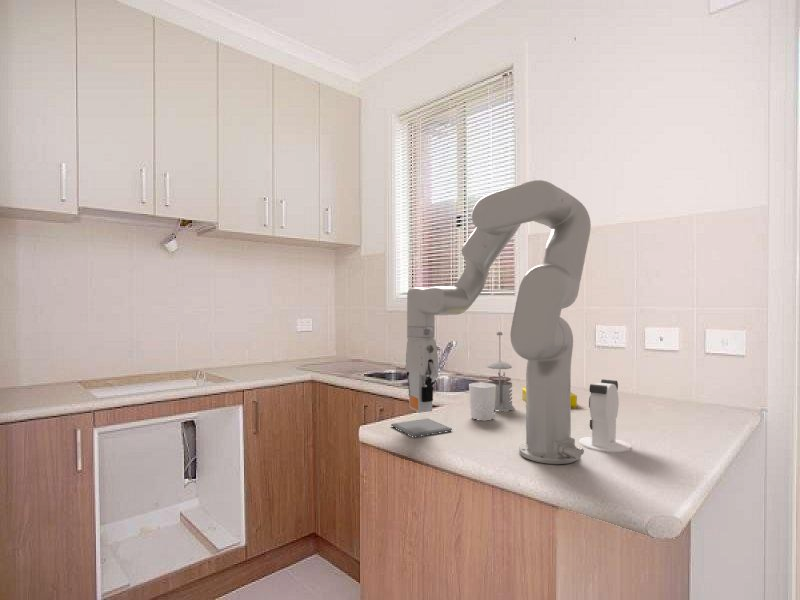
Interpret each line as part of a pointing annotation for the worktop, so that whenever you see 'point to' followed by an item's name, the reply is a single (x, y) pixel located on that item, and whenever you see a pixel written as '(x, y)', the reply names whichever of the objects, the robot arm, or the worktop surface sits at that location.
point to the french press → (501, 385)
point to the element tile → (572, 398)
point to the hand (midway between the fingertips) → (420, 398)
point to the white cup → (482, 400)
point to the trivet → (421, 427)
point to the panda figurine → (604, 418)
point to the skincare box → (417, 393)
